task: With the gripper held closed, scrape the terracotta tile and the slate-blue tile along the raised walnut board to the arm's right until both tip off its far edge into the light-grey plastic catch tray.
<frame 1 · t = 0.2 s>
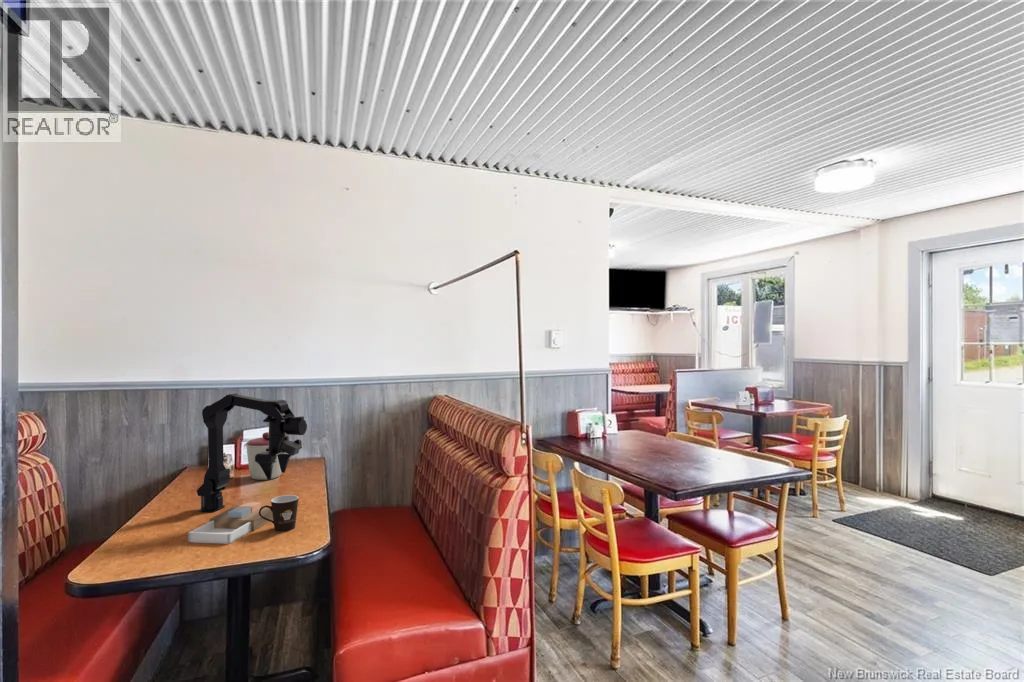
hand: (276, 475, 188), 13 cm above the table, fingers open, 9 cm apart
slate tile: (239, 515, 174), point 3 cm above the table, touching walnut board
canister: (266, 477, 237), on the table
coffee mug: (280, 529, 171), on the table
terracotta tile: (249, 510, 180), point 3 cm above the table, touching walnut board
catch tray: (220, 536, 164), on the table
walnut board: (244, 522, 177), on the table
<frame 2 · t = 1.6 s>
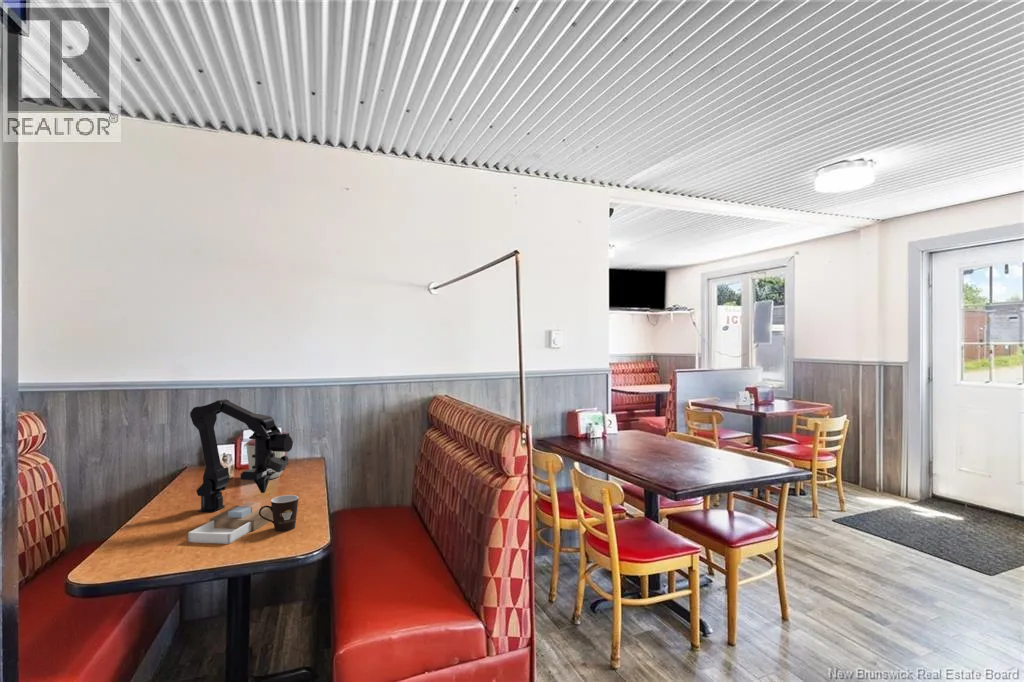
hand: (263, 492, 188), 7 cm above the table, fingers closed
nothing on the table moved.
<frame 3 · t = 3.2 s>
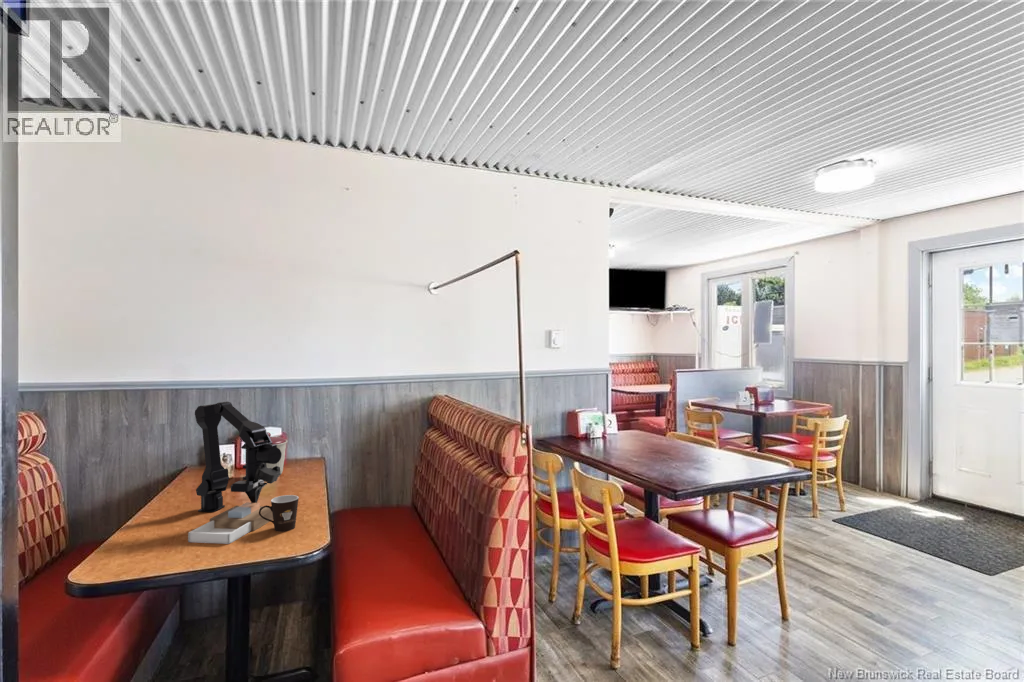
hand: (254, 504, 182), 5 cm above the table, fingers closed
terracotta tile: (248, 510, 179), point 3 cm above the table, touching gripper, walnut board
everything else where it was.
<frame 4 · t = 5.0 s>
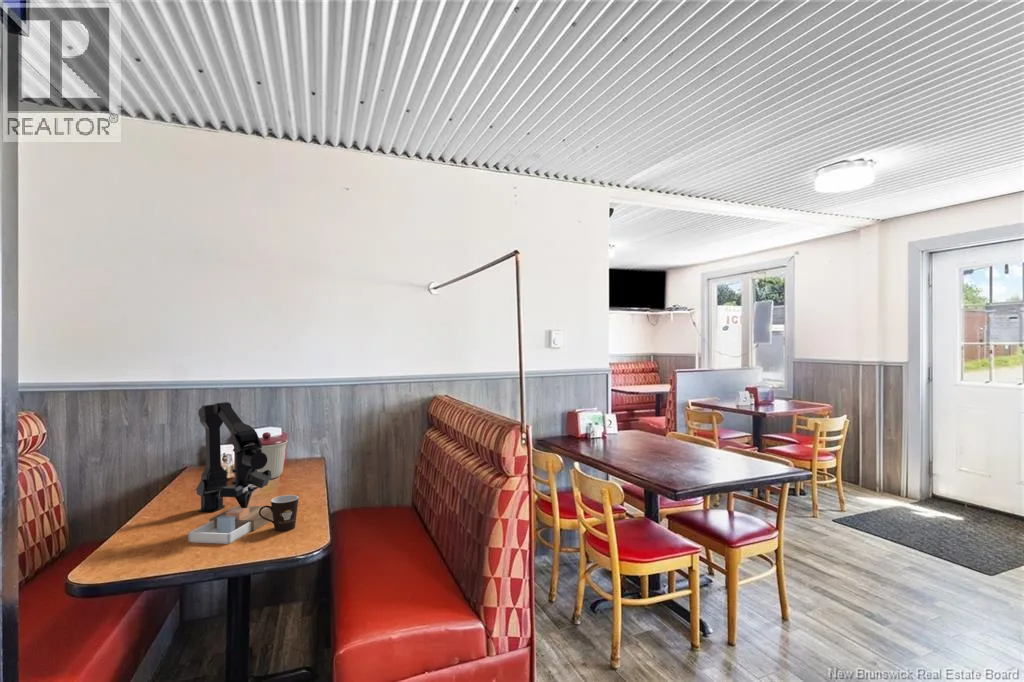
hand: (244, 509, 177), 5 cm above the table, fingers closed
slate tile: (228, 523, 168), point 3 cm above the table, tilted 90°, touching catch tray
terracotta tile: (237, 516, 173), point 4 cm above the table, touching gripper
everything else where it was.
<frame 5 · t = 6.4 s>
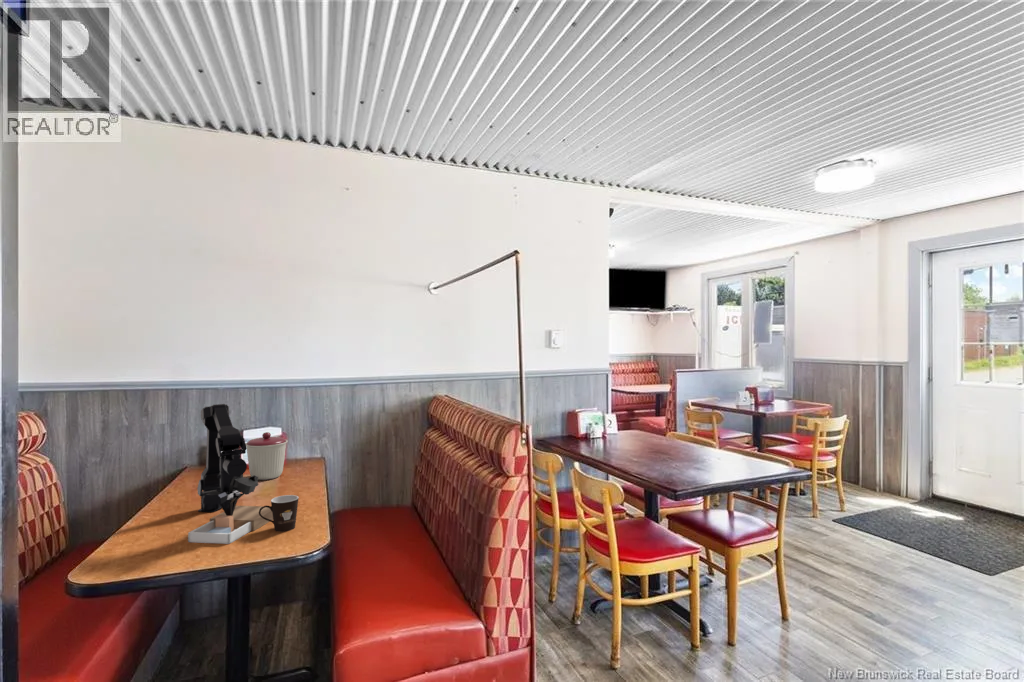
hand: (229, 517, 169), 5 cm above the table, fingers closed
slate tile: (218, 529, 164), point 2 cm above the table, tilted 180°, touching catch tray
terracotta tile: (226, 522, 168), point 3 cm above the table, tilted 93°, touching catch tray, gripper
everything else where it was.
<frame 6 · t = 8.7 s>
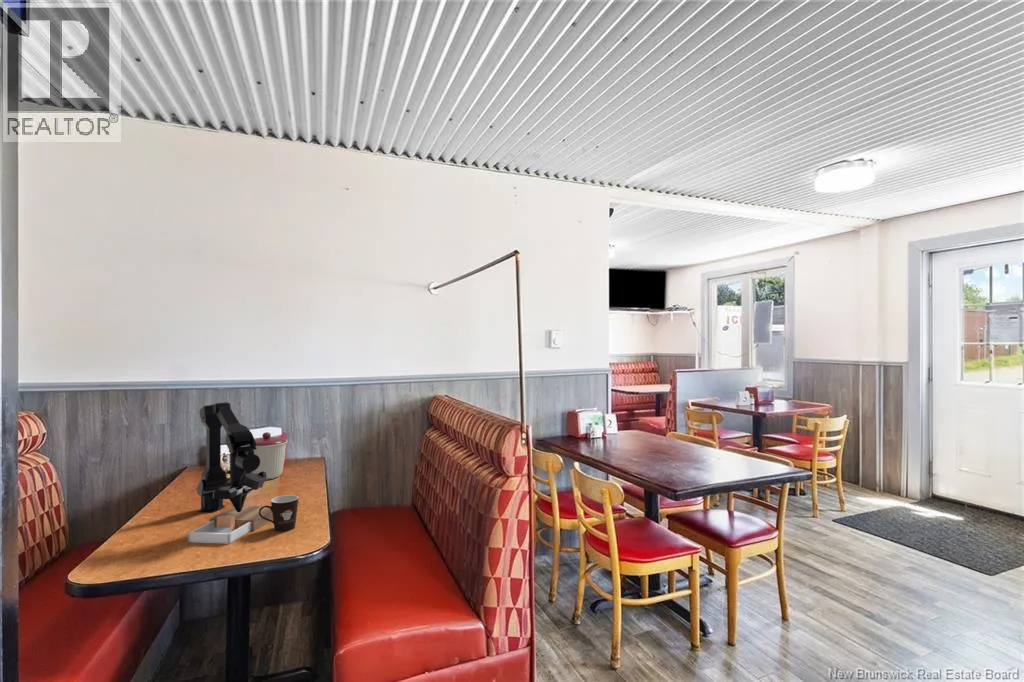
hand: (239, 511, 174), 5 cm above the table, fingers closed
terracotta tile: (227, 522, 169), point 3 cm above the table, tilted 89°, touching catch tray
everything else where it was.
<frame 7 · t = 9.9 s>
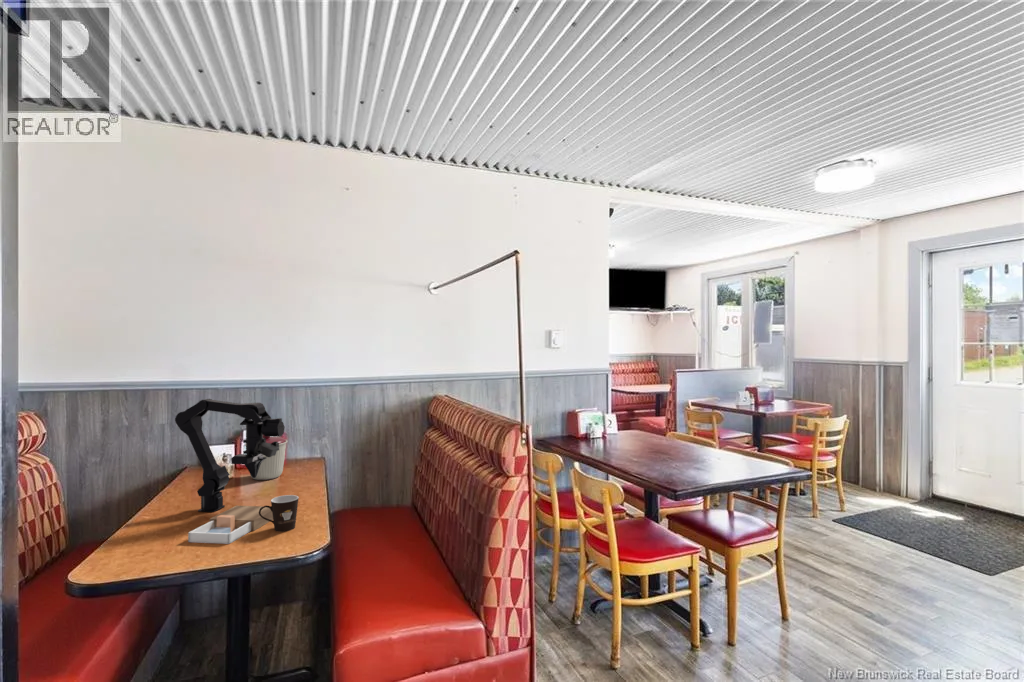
hand: (254, 477, 191), 12 cm above the table, fingers closed
nothing on the table moved.
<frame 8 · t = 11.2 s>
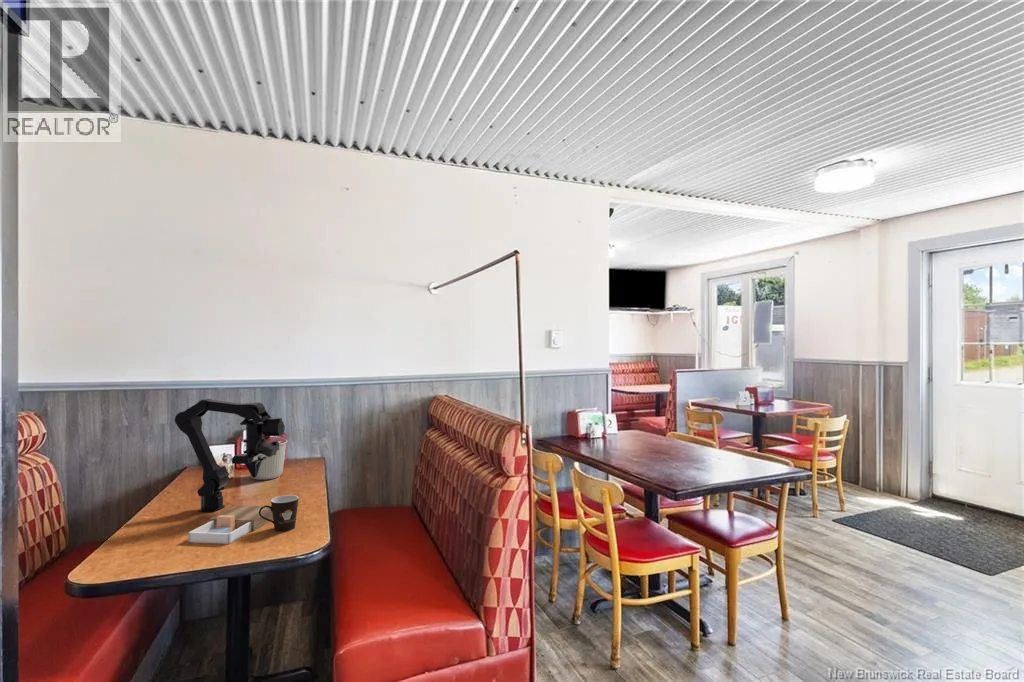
hand: (254, 477, 191), 12 cm above the table, fingers closed
nothing on the table moved.
at the end: terracotta tile inside the target area on the catch tray (4.3 cm from its centre), point 2.9 cm above the catch tray's base; slate tile inside the target area on the catch tray (1.0 cm from its centre), point 2.4 cm above the catch tray's base; terracotta tile touching catch tray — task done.
